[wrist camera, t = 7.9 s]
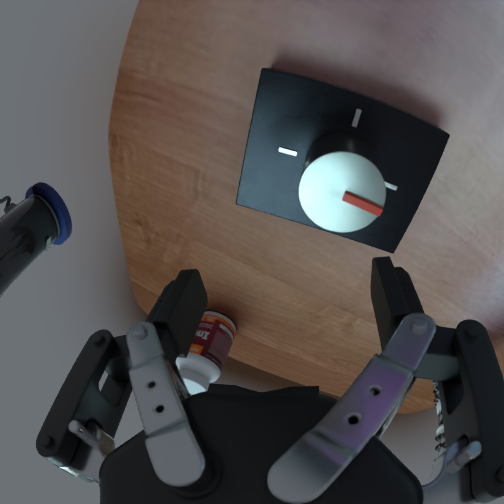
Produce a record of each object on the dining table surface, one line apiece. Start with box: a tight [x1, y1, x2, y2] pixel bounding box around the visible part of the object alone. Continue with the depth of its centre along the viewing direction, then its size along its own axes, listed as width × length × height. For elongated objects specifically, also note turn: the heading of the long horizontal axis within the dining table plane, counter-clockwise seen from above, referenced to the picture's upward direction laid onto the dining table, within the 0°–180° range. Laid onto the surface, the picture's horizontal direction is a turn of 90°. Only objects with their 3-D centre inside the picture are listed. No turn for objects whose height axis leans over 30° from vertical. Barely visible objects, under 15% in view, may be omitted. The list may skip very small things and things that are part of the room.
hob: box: [236, 68, 450, 253], centre depth 22 cm, size 15×12×3 cm
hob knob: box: [298, 133, 386, 233], centre depth 19 cm, size 6×6×5 cm
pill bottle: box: [176, 311, 236, 395], centre depth 37 cm, size 6×6×11 cm
